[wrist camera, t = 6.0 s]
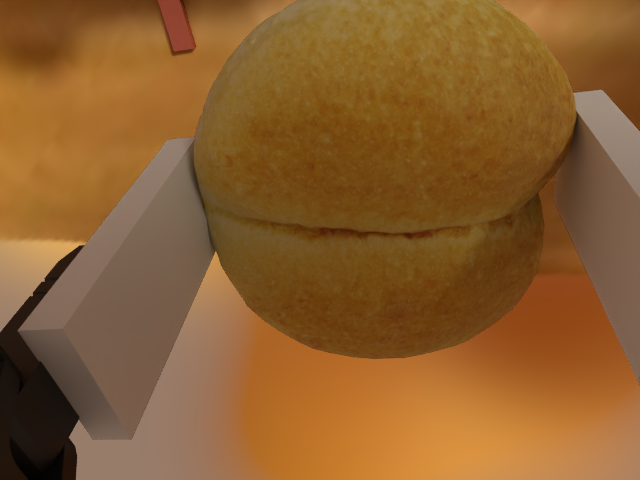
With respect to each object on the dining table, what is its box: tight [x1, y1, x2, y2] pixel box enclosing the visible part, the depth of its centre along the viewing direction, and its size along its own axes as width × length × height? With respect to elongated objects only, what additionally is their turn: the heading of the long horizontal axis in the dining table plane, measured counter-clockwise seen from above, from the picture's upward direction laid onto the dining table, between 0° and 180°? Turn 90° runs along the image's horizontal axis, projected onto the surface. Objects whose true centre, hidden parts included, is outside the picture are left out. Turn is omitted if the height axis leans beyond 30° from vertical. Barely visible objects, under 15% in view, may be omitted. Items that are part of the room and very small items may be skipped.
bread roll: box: [194, 0, 577, 359], centre depth 12 cm, size 8×9×4 cm
